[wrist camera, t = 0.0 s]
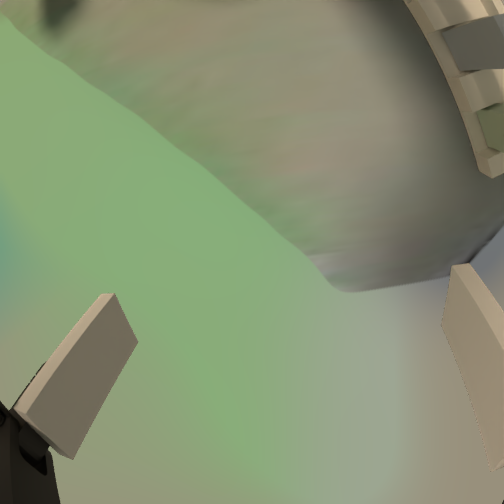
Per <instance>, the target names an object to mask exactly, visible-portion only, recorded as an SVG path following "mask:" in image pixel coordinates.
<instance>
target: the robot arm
mask: <svg viewBox="0 0 504 504" xmlns="http://www.w3.org/2000/svg"><path fill="white" fill-rule="evenodd" d="M441 326H442V328H443V331H444V333H445V335H446V338H447V340H448V342H449V345H450V347H451V349H452V352H453V355H454V357H455V360H456V362H457V365H458V367H459V370H460V373H461V375H462V378H463V381H464V383H465V386H466V389H467V392H468V395H469V398H470V400H471V404H472V407H473V410H474V413H475V416H476V420H477V423H478V426H479V430H480V433H481V436H482V440H483V444H484V448H485V452H486V456H487V460H488V464H489V468H490V472H492V471H494V470H497V469H499V468H502V467H504V312H503V310H502V309H501V307H500V305H499V304H498V303H497V301H496V300H495V298H494V297H493V295H492V294H491V292H490V291H489V290H488V288H487V287H486V285H485V284H484V283H483V281H482V280H481V279H480V277H479V276H478V274H477V273H476V272H475V270H474V269H473V268H472V266H471V265H470V264H469V263H467V264H460V265H452V267H451V274H450V280H449V287H448V292H447V298H446V304H445V308H444V314H443V318H442V323H441ZM137 343H138V341H137V338H136V336H135V335H134V333H133V330H132V328H131V327H130V325H129V322H128V321H127V319H126V316H125V314H124V312H123V310H122V308H121V306H120V304H119V302H118V299H117V297H116V295H115V293H109V294H101V295H100V296H99V298H97V300H96V301H95V302H94V303H93V304H92V305H91V307H90V308H89V309H88V310H87V312H86V313H85V314H84V315H83V316H82V317H81V319H80V320H79V321H78V322H77V324H76V325H75V326H74V327H73V329H72V330H71V331H70V332H69V333H68V335H67V336H66V338H65V339H64V340H63V341H62V342H61V344H60V345H59V346H58V348H57V349H56V350H55V352H54V353H53V354H52V355H51V357H50V358H49V359H48V360H47V361H46V362H45V363H44V364H43V365H42V366H41V367H40V369H39V370H38V372H37V373H36V376H34V377H33V378H32V380H31V381H30V382H31V383H29V384H28V385H27V386H26V388H25V389H24V391H23V392H22V394H21V395H20V396H19V398H18V399H17V401H16V402H15V404H14V405H13V406H12V408H11V409H10V410H8V409H7V408H6V407H5V406H4V405H3V404H2V403H1V401H0V504H60V499H59V494H58V489H57V484H56V478H55V473H54V466H53V460H52V455H51V453H50V452H49V451H48V448H49V446H51V447H52V448H53V449H54V450H55V451H56V452H57V453H59V454H60V455H62V456H65V457H67V458H70V459H72V460H73V459H74V457H75V455H76V453H77V451H78V449H79V447H80V445H81V444H82V442H83V440H84V438H85V436H86V434H87V432H88V430H89V428H90V427H91V425H92V423H93V421H94V419H95V417H96V415H97V414H98V412H99V410H100V408H101V406H102V405H103V403H104V401H105V399H106V397H107V396H108V394H109V392H110V390H111V388H112V387H113V385H114V383H115V381H116V380H117V378H118V376H119V374H120V373H121V371H122V369H123V367H124V366H125V364H126V362H127V360H128V359H129V357H130V355H131V354H132V352H133V350H134V348H135V347H136V345H137ZM502 504H504V501H503V503H502Z"/></svg>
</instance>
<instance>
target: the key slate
mask: <svg viewBox="0 0 504 504" xmlns="http://www.w3.org/2000/svg"><path fill="white" fill-rule="evenodd" d="M442 35H443V37H444V39H445V41H446V43H447V45H448V46H449V48H450V50H451V53H452V55H453V57H454V59H455V61H456V63H457V65H458V67H459V70H460V71H464V70H482V69H504V14H499V15H495V16H491V17H487V18H484V19H481V20H478V21H475V22H472V23H468V24H465V25H462V26H460V27H457V28H454V29H451V30H448V31H445V32H443V33H442Z"/></svg>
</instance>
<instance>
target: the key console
mask: <svg viewBox="0 0 504 504" xmlns="http://www.w3.org/2000/svg"><path fill="white" fill-rule="evenodd" d="M403 1H404V2H405V4H406V6H407V7H408V9H409V10H410V12H411V14H412V15H413V17H414V18H415V20H416V22H417V23H418V25H419V27H420V29H421V30H422V32H423V34H424V36H425V38H426V39H427V41H428V43H429V45H430V47H431V49H432V51H433V53H434V55H435V57H436V59H437V61H438V63H439V65H440V67H441V69H442V71H443V73H444V75H445V78H446V80H447V82H448V84H449V87H450V89H451V91H452V94H453V96H454V99H455V101H456V104H457V106H458V109H459V111H460V114H461V116H462V119H463V122H464V125H465V128H466V130H467V133H468V136H469V139H470V142H471V146H472V149H473V152H474V155H475V159H476V162H477V166H478V169H479V171H480V172H482V173H483V174H485V175H487V176H489V177H490V178H492V179H493V178H495V177H497V176H499V175H501V174H503V173H504V153H503V152H500V151H498V150H496V149H493V148H491V147H488V146H487V142H486V139H485V136H484V133H483V130H482V126H481V123H480V120H479V118H478V115H477V112H476V111H478V110H480V109H483V108H485V107H488V106H490V105H492V104H495V103H500V104H504V69H482V70H464V71H460V70H459V67H458V65H457V63H456V61H455V59H454V57H453V55H452V53H451V50H450V48H449V46H448V45H447V43H446V41H445V39H444V37H443V35H442V33H443V32H445V31H448V30H451V29H454V28H457V27H460V26H462V25H465V24H468V23H472V22H475V21H478V20H481V19H484V18H487V17H491V16H495V15H499V14H504V6H503V4H502V2H501V0H403Z"/></svg>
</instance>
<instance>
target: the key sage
mask: <svg viewBox="0 0 504 504" xmlns="http://www.w3.org/2000/svg"><path fill="white" fill-rule="evenodd" d="M476 112H477V115H478V118H479V120H480V123H481V126H482V130H483V133H484V136H485V139H486V142H487V146H488V147H491V148H493V149H496V150H498V151H500V152H503V153H504V104H500V103H495V104H492V105H490V106H488V107H485V108H483V109H480V110H478V111H476Z"/></svg>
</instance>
